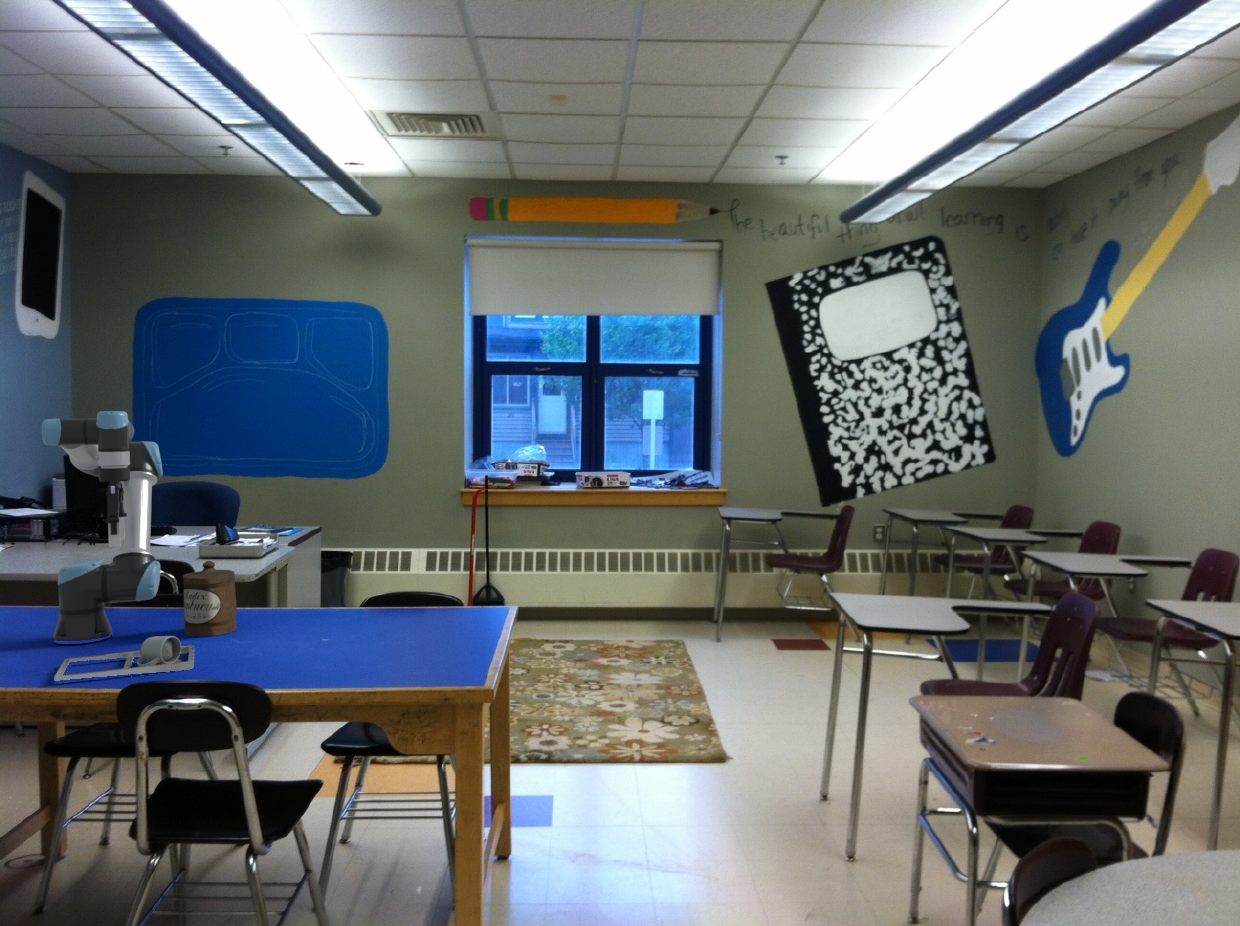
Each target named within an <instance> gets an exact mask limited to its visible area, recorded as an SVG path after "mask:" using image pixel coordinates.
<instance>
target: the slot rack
mask: <svg viewBox="0 0 1240 926" xmlns="http://www.w3.org/2000/svg"><path fill="white" fill-rule="evenodd" d="M194 652H195V644H192V645H181V653H180V654H182V655H188V659H187V661H182V660H181V659H179V658H178V659H177V660H176V661H175V662H174V663H169V664H160V663H157V665H151V666H142V667H138V666H134V667H133V664H132V662H133V663H134V661H133V659H134V657H141V653H140V650H136V651H135V650H133V651H125V652H115V653H106V654H98V655H97V654H95V655H86V656H76V657H68V658H67V657H66V658H64V660H63V662H62V663H61V665H60V667H59V669H58V670H57V672H56V673H55V675H54V677H53V681H60V680H70V679H81V678H92V677H107V676H117V675H128V674H129V675H130V674H142V673H156V672H166V673H171V672H170V671H175V672H182V670H184V671H191V670H190V669H193V668H194V666H195V653H196V652H195V653H194ZM187 653H189V654H187ZM117 658H127V660H126V661H124V662H125V663H124V666H123V668H114V669H107V670H97V671H90V672H89V671H88V672H79V673H71V674H70V673H69V674H66V675H63V674H64V672H65V670H66V668H67V666H68V665H69V663H70V662H77V661H87V660H88V661H89V660H105V659H106V660H107V659H117ZM131 665H132V668H131ZM193 670H194V669H193Z"/></svg>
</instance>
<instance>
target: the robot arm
mask: <svg viewBox="0 0 1240 926" xmlns="http://www.w3.org/2000/svg"><path fill="white" fill-rule="evenodd" d="M128 416H129V414H128V413H127V411H123V410H121V411H119V410H118V411H116V410H115V411H114V410H112V411H111V410H107V411H105V410H103V411H102V410H100V411H98V413H97V415H96V418H59V417H57V418H48V419H47V418H46V419H44V420H43V421H42V423H41V439H42V442H43V444H44V445H45V446H52V447H59V446H60V448H61V449H62V450H64V452H65V453H66V454H68V457H69V460H70V463H71V464H72V465H73V466H74V468H76V469H77V470H79V471H80V472H83V473H85V474H88V475H91V476H94V477H98V480H99V482H101V483H108V486H107V488H106V490H105V491H106V501H107V518H106V519H104V523H105V524H107V526H108V527H107V529H108V530H107V531H108V532H107V533H108V548H116V547H117V548H118V552H117V554H115V555H114V556H113V557H112V562H111V563H107V564H104V561H103V560H102V559H93V560H84V561H79V562H76V563H71V564H67V565H65V566H62V567H61V568H60V569H59V571H58V575H57V583H56V584H57V586H58V587H57V588H58V590H57V591H58V605H59V607H58V609H59V610H58V611H59V615H58V619H57V623H56V626H55V629H54V633H53V638H54V639H55V640H57V641H82V640H91V639H98V638H103V637H107V636H109V635H111V634H112V635H113V628H112V626H111V623H110V621H109V618H108V617H107V614H106V611H105V609H106V608H105V604H109V603H110V604H111V603H112V604H113V603H125V602H141V601H146V600H147V601H148V600H152V599H153V598H155V597H156V596H157V592H158V590H159V586H160V581H161V571H162V569H161V563H160V562H159V561H157V560H156V556H155V555H154V554H152V553H151V530H152V529H151V527H152V524H151V523H152V496H153V495H152V494H153V493H152V492H153V491H152V490H153V488H152V487H154V486H155V485H156V484H157V483H158V478H161V477H163V475H164V474H163V473H164V472H163V466H162V465H163V464H162V458H161V453H160V449H159V444H157V443H156V442H155V441H144V440H141V441H131V440H132V439H133V437H134V436H135V428H134V426H133V424H132V423H131V422H130V420H129V417H128Z"/></svg>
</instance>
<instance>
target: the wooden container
mask: <svg viewBox="0 0 1240 926" xmlns="http://www.w3.org/2000/svg"><path fill="white" fill-rule="evenodd" d="M215 565H216V563H215V562H214V561H212V560H207V561H205V562H203V563H202V568H203V569H201V571H199V570H198V571H194V572H189V573H185V574H183V576H182V583H183V584H182V586H183V616H184V619H183V620H184V634H185V635H186V636H188V637H194V636H196V637H198V638H199V637H200V638H201V637H202V638H204V637H206V636H207V637H213V636H214V637H215V636H220V635H221V636H223V635H226V634H229V633H233V632H234V631H236V630H237V629H238V614H237V612H238V611H237V609H238V608H237V597H236V596H237V595H236V594H237V593H236V583H235V582H236V581H235V580H236V578H235V577H236V576H235V571H233V570H230V569H216V568H215ZM196 637H195V638H196Z"/></svg>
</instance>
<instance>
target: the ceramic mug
mask: <svg viewBox="0 0 1240 926" xmlns="http://www.w3.org/2000/svg"><path fill="white" fill-rule="evenodd" d="M181 647H182V644H181V641H180V639H179V638H178V637H176V636H175V635H165V636H164V635H162V636H159V635H158V636H152V637H151V636H150V637H147V638H146V639H145V640H143V642H142V644H141V645H140V649H139V651H140V653H141V657H140V658H139V659H136V664H137V667H142V666H151V665H156V664H157V663H160V664H169V663H174V662H175V661H176V660H177V659H179V658H180V653H181ZM144 662H148V663H146V664H142V663H144Z"/></svg>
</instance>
